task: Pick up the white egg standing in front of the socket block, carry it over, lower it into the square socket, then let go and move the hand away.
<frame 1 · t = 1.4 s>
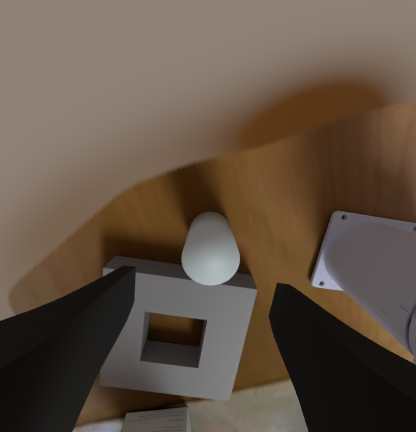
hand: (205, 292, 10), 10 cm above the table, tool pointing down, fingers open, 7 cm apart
skincare box: (162, 420, 26), on the table
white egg: (210, 231, 19), on the table
dock: (176, 321, 22), on the table
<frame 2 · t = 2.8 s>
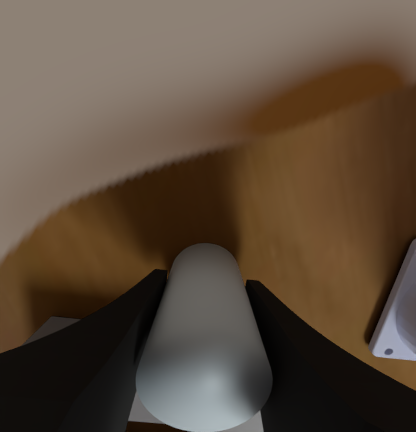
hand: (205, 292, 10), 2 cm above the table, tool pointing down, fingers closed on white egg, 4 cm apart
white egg: (205, 274, 12), on the table, touching gripper
dock: (157, 408, 14), on the table
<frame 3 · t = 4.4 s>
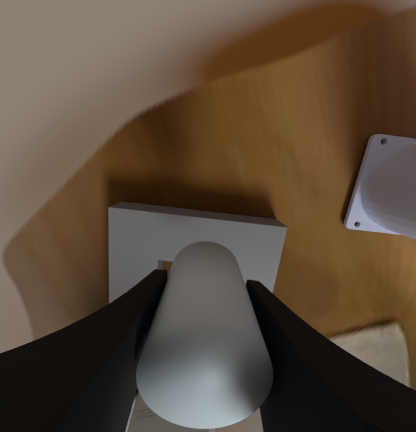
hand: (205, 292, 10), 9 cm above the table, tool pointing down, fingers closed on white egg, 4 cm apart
skincare box: (179, 395, 24), on the table
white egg: (205, 273, 12), point 7 cm above the table, touching gripper
dock: (192, 279, 20), on the table
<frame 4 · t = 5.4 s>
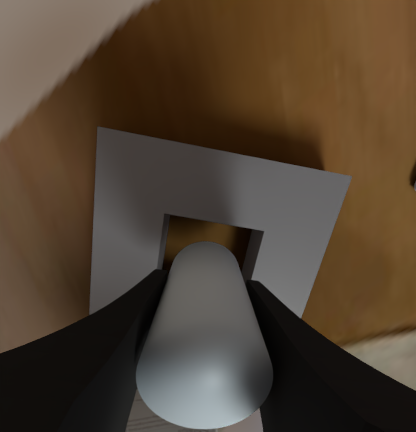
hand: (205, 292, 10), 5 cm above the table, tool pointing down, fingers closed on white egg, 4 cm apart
skincare box: (175, 402, 19), on the table
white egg: (205, 273, 12), point 3 cm above the table, touching gripper
dock: (205, 250, 15), on the table
when the fingers open (3 cm above the table, at t = 6.1 s): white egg drops 2 cm, resting in dock.
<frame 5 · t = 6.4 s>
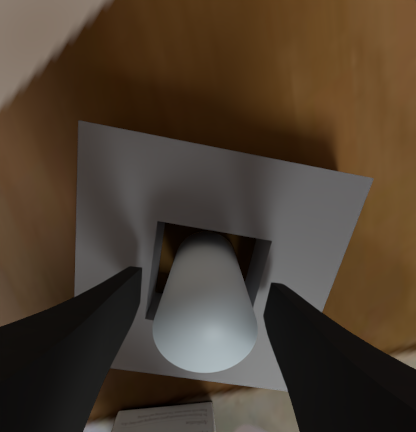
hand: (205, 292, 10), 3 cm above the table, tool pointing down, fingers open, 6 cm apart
skincare box: (172, 422, 17), on the table
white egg: (205, 259, 13), resting in dock
dock: (205, 260, 13), on the table
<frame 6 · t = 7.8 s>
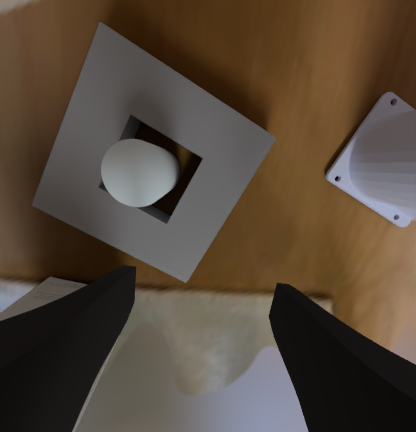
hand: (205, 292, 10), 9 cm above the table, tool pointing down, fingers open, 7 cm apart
skincare box: (90, 304, 21), on the table
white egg: (158, 171, 18), resting in dock
dock: (157, 171, 18), on the table
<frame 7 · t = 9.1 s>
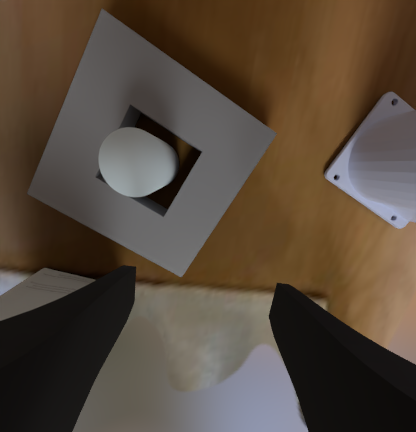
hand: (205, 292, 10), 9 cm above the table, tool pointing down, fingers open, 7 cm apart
skincare box: (84, 296, 21), on the table
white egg: (156, 163, 18), resting in dock
dock: (156, 164, 18), on the table
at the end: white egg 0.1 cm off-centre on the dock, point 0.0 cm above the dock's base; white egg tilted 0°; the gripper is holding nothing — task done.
